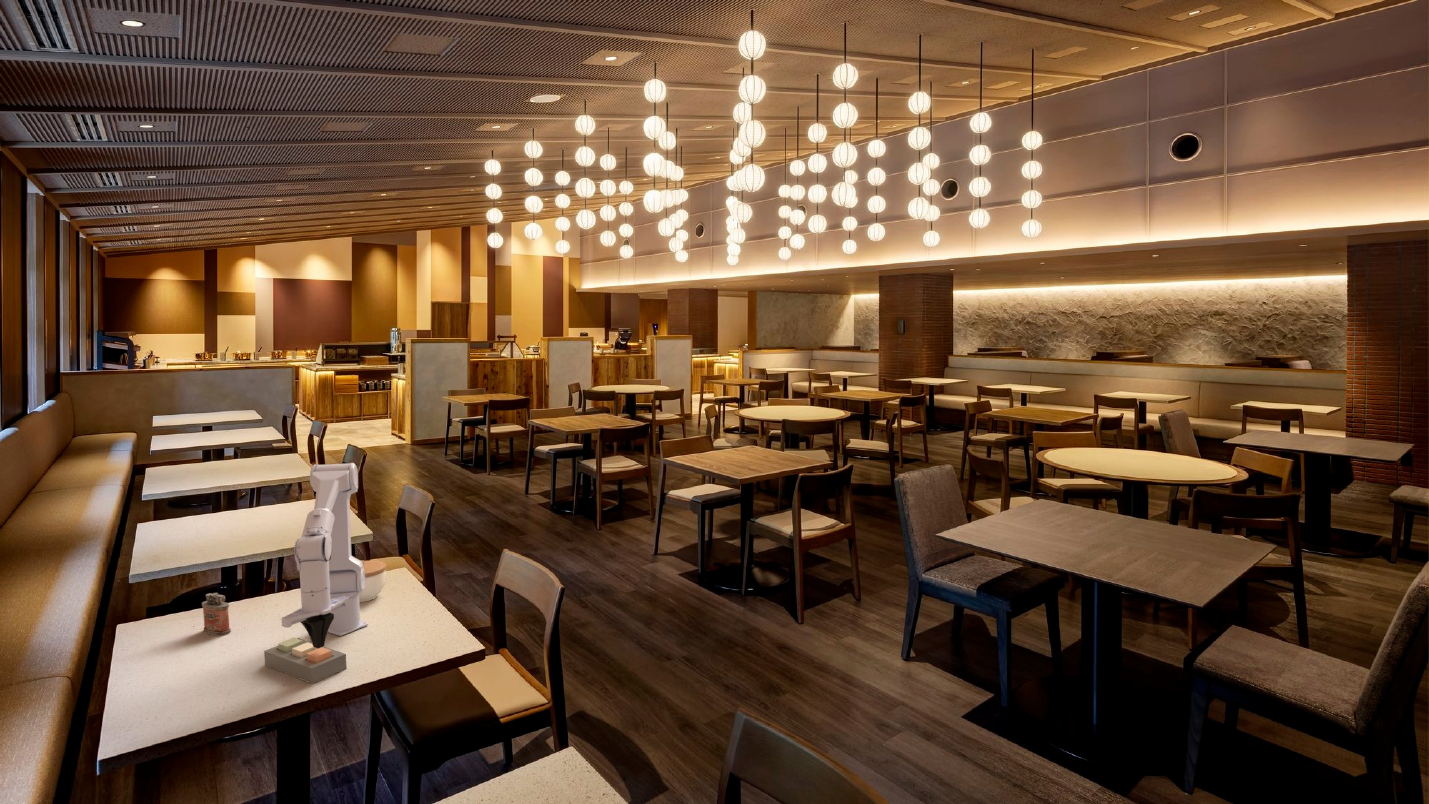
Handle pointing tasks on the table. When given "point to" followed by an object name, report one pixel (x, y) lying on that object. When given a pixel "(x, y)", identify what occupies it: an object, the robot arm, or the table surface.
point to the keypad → (305, 664)
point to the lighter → (216, 615)
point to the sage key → (289, 645)
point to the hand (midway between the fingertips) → (318, 646)
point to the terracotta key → (319, 655)
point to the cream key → (302, 650)
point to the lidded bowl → (373, 579)
